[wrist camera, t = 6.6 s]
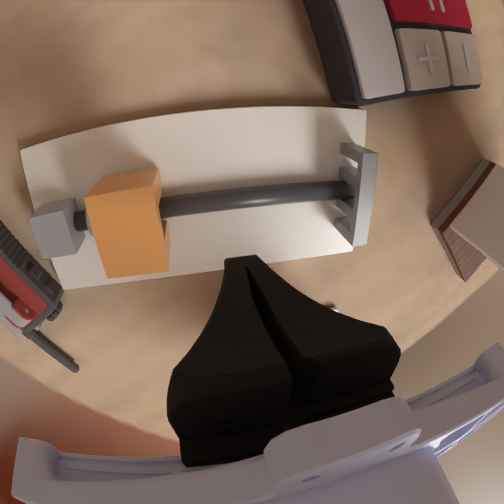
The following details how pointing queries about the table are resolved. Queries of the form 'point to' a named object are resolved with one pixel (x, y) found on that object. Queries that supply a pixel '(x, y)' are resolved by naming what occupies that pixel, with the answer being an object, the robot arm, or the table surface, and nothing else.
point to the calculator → (394, 48)
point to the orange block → (129, 223)
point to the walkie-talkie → (28, 295)
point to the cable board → (212, 186)
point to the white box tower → (474, 221)
